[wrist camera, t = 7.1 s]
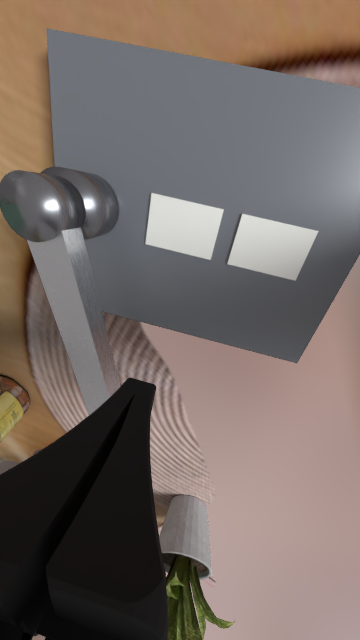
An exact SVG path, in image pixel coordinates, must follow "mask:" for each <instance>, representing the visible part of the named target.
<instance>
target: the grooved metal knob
mask: <svg viewBox="0 0 360 640" xmlns="http://www.w3.org/2000/svg"><path fill="white" fill-rule="evenodd" d="M41 174H48V175H55V176H60V177H63V178H65V179H67V180H68V181H70V182H71V183H72V184H73V185H74V186H75V187H76V188H77V189H78V191H79V192H80V194H81V196H82V198H83V201H84V204H85V209H86V218H85V222H84V225H83V227H82V229H81V230H82V234H83V238H84V240H87V239H91V238H94V237H98V236H101V235H105V234H107V233H109V232H110V231H111V230H112V229H113V228H114V227H115V225H116V223H117V221H118V217H119V203H118V199H117V196H116V194H115V192H114V190H113V188H112V187H111V185H110V184H109V183H108V182H107V181H106V180H105V179H103V178H102V177H100V176H98V175H96V174H92V173H87V172H83V171H78V170H73V169H68V168H63V167H50V168H47V169H45V170H43V171H42V172H41Z"/></svg>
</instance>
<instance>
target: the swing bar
mask: <svg viewBox="0 0 360 640" xmlns="http://www.w3.org/2000/svg"><path fill="white" fill-rule="evenodd" d="M0 208H1V211H2V213H3V216H4V218H5V219H6V221H7V222H8V224H9V225H10V227H11V228H12V229H13V230H14V231H15V232H16V233H17V234H18V235H20V236H21V237H23V238H25V239H27V242H28V244H29V247H30V250H31V253H32V256H33V258H34V261H35V264H36V267H37V270H38V273H39V275H40V278H41V281H42V284H43V287H44V289H45V292H46V295H47V298H48V301H49V303H50V306H51V309H52V312H53V315H54V318H55V320H56V323H57V326H58V329H59V332H60V334H61V337H62V340H63V343H64V346H65V349H66V351H67V354H68V357H69V360H70V363H71V365H72V368H73V371H74V374H75V377H76V379H77V382H78V385H79V388H80V391H81V394H82V396H83V399H84V402H85V405H86V408H87V410H88V413H89V415H90V414H91V413H93V412H94V411H95V410H96V409H97V408H98V407H100V406H101V405H102V404H103V403H104V402H105V401H106V400H107V399H108V398H110V397H111V396H112V395H113V394H114V393H115V392H116V391H117V390H118V389H119V388H120V387H121V386H120V382H119V378H118V374H117V370H116V366H115V362H114V358H113V354H112V350H111V346H110V342H109V338H108V334H107V330H106V326H105V322H104V318H103V314H102V310H101V306H100V302H99V298H98V294H97V290H96V286H95V282H94V278H93V274H92V270H91V266H90V262H89V258H88V254H87V250H86V246H85V242H84V238H83V234H82V230H81V229H82V227H83V225H84V222H85V218H86V209H85V204H84V201H83V198H82V196H81V194H80V192H79V191H78V189H77V188H76V187H75V186H74V185H73V184H72V183H71V182H70V181H68V180H67V179H65V178H63V177H60V176H55V175H48V174H41V173H34V172H28V171H21V170H16V171H12V172H10V173H8V174H7V175H5V176H4V178H3V179H2V181H1V183H0Z"/></svg>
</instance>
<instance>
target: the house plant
mask: <svg viewBox="0 0 360 640" xmlns="http://www.w3.org/2000/svg"><path fill="white" fill-rule="evenodd" d="M208 529H209V528H208V515H207V506H206V505H205V504H204V503H203V502H202V501H201V500H200V499H198V498H195V497H193V496H189V495H178V496H175V497H173V498H172V499H171V502H170V506H169V509H168V512H167V515H166V518H165V521H164V524H163V527H162V530H161V533H160V536H159V540H160V545H161V551H162V557H163V562H164V567H165V571H166V572H168V575H167V577H166V589H167V602H168V637H167V640H203V639H204V633H205V628H206V623H205V618H206V619H207V620H208V621H209V622H211V623H213V624H216V625H217V626H218V627H220V628H229V627H230V626H231V625H232V624H233V623H234V622H228V621H224V620H221V619H219V618H217V617H216V616H215V615H214V613H213V612H212V610H211V609H210V607H209V605H208V604H207V602H206V600H205V598H204V596H203V592H202V589H201V586H200V581H199V580H201V579H206V578H208V577H210V575H211V574H212V570H211V556H210V542H209V530H208ZM190 583H191V587H192V591H193V597H194V601H195V605H196V609H197V612H198V618H199V623H200V628H199V624H198V620H197V616H196V611H195V608H194V603H193V599H192V593H191V587H190ZM204 617H205V618H204ZM200 629H201V632H200Z"/></svg>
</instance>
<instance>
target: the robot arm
mask: <svg viewBox="0 0 360 640" xmlns="http://www.w3.org/2000/svg"><path fill="white" fill-rule="evenodd" d="M155 391H156V386H155V385H154V384H151V383H147V382H144V381H140V380H137V379H133V378H128V379H127V380H126V381H125V382H124V383H123V385H122V386H121V387H120V388H119V389H118V390H117V391H116V392H115V393H114V394H113V395H112V396H111V397H110V398H108V399H107V400H106V401H105V402H104V403H103V404H102V405H101V406H100V407H98V408H97V409H96V410H95V411H94V412H93V413H91V414H90V415H89V416H88V417H87V418H85V419H84V420H83V421H82V422H80V423H79V424H78V425H77V426H75V427H74V428H73V429H71V430H70V431H69V432H67V433H66V434H65V435H63V436H62V437H60V438H59V439H57V440H56V441H55V442H53V443H52V444H50V445H49V446H47V447H45V448H44V449H42V450H41V451H39V452H38V453H37V454H35V455H33V456H32V457H30V458H28V459H27V460H25V461H23V462H21V463H20V464H18V465H16V466H15V467H13V468H11V469H9V470H8V471H6V472H4V473H2V474H1V475H0V640H32V637H33V636H37V635H38V634H40V635H42V636H45V637H46V638H45V640H167V637H168V602H167V589H166V573H165V567H164V562H163V557H162V551H161V545H160V540H159V534H158V527H157V520H156V513H155V505H154V497H153V489H152V478H151V464H150V416H151V410H152V406H153V401H154V396H155Z"/></svg>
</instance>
